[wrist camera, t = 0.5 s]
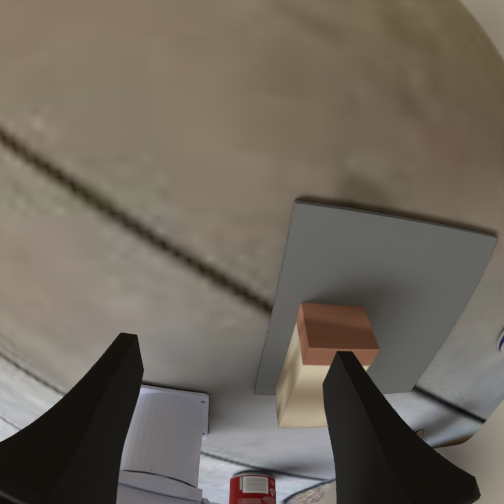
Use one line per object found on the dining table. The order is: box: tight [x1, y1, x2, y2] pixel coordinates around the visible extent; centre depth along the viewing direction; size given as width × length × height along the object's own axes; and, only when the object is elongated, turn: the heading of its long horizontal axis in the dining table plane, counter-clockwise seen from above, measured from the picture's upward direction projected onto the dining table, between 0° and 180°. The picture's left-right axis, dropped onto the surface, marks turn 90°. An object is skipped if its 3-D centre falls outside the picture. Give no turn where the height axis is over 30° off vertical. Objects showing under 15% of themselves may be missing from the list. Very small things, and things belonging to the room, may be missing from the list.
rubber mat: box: [254, 200, 498, 395], centre depth 23 cm, size 18×16×1 cm
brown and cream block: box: [276, 302, 380, 428], centre depth 23 cm, size 10×5×4 cm, turn 173°
